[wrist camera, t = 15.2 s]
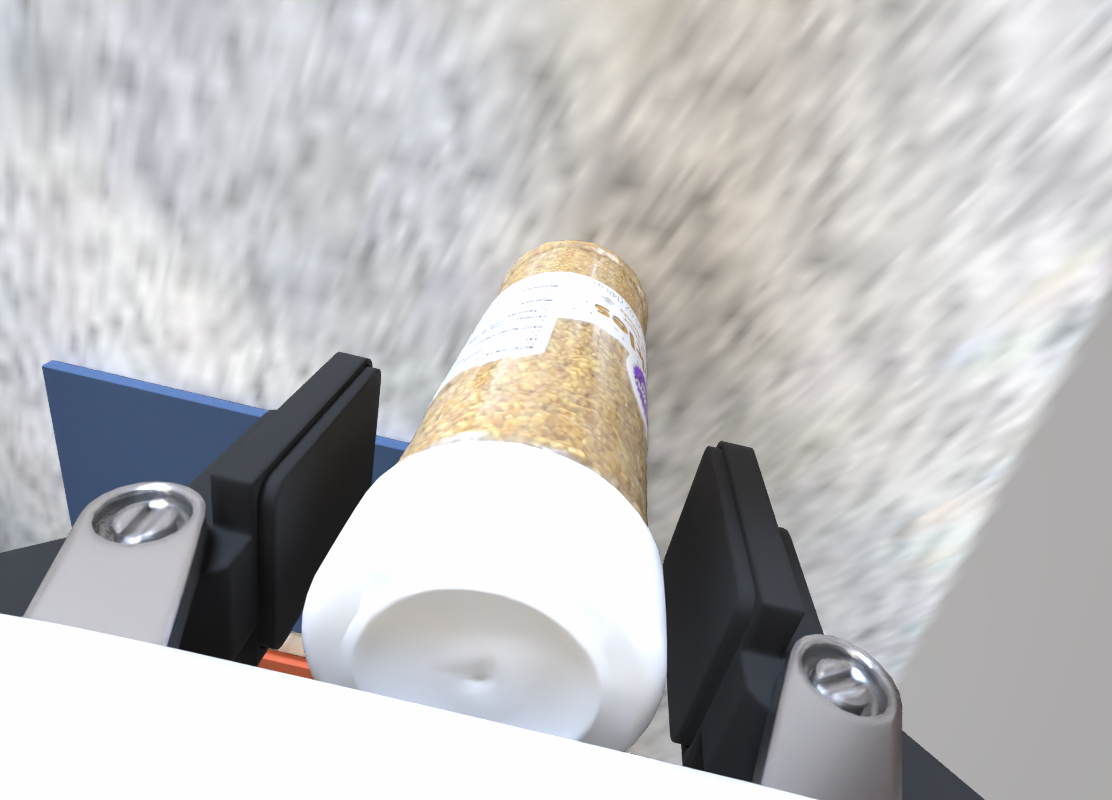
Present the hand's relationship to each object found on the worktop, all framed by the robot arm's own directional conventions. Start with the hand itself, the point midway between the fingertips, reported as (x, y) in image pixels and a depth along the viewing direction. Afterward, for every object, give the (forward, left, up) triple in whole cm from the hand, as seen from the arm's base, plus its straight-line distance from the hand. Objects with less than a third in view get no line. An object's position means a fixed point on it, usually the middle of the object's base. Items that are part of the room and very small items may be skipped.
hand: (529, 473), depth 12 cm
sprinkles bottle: (0, 0, -9) cm, 9 cm away
